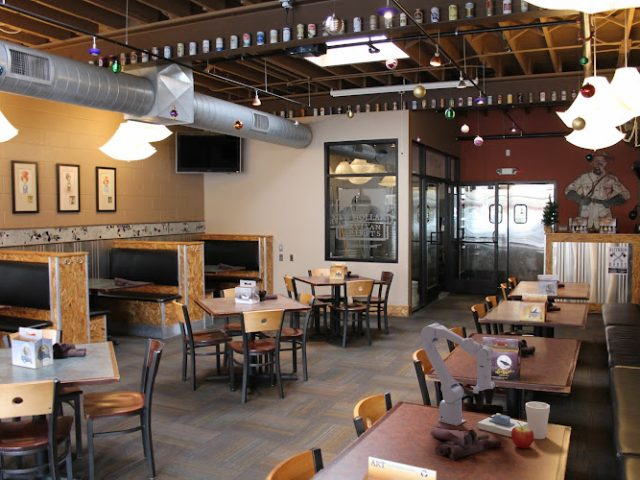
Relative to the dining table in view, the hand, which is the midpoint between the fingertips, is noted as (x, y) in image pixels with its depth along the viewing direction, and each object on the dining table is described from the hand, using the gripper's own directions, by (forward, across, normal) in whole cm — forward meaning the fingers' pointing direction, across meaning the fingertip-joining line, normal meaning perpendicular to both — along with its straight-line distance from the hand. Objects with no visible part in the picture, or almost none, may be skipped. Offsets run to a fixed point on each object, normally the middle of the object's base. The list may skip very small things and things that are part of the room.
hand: (484, 406), depth 270 cm
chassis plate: (+9, +5, -6) cm, 12 cm away
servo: (+9, +4, -6) cm, 12 cm away
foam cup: (+10, +6, -21) cm, 24 cm away
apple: (+10, -9, -22) cm, 26 cm away
